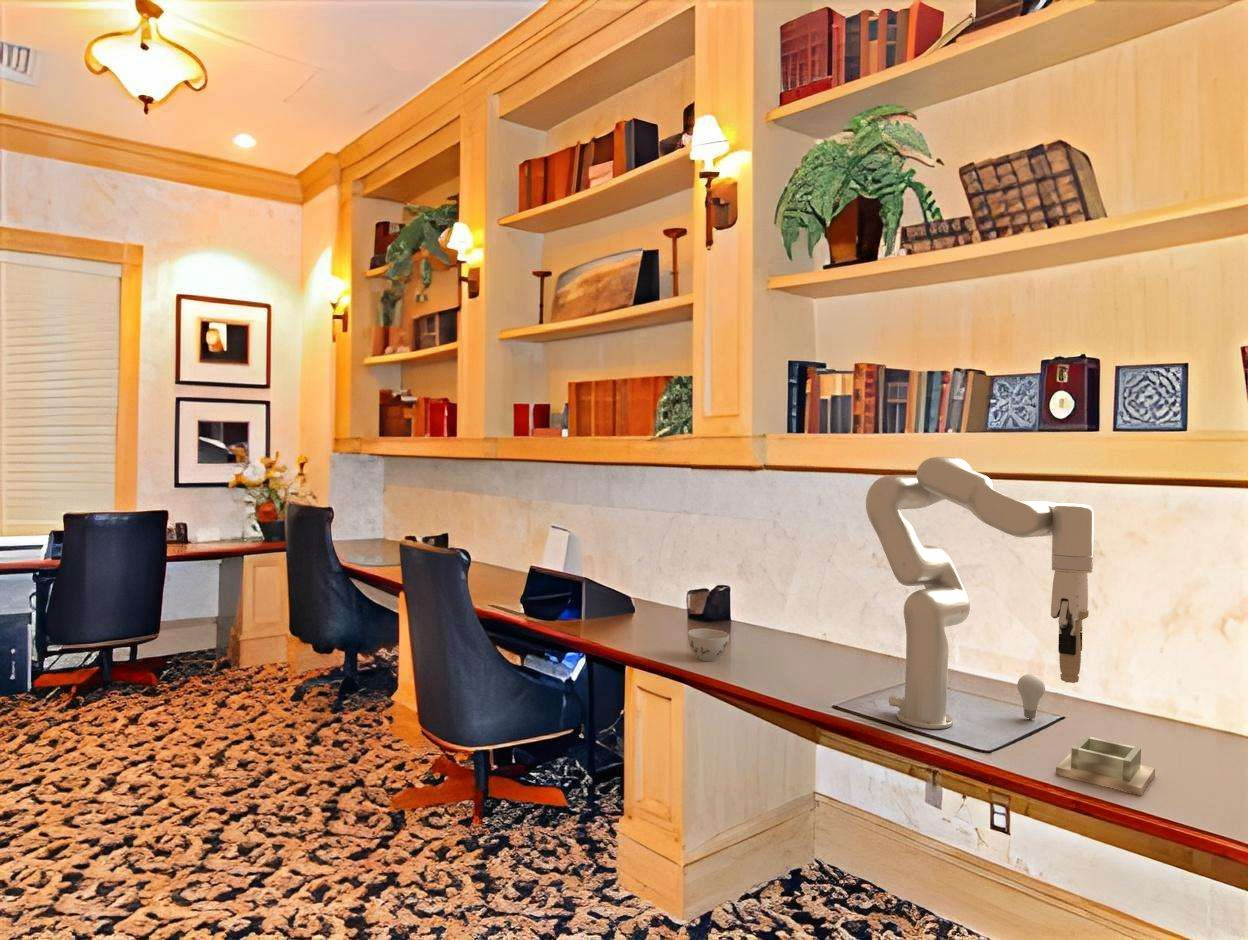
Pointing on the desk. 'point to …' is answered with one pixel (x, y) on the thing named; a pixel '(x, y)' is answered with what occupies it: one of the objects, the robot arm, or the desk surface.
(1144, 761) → the desk surface
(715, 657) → the teacup
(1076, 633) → the handle
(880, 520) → the robot arm
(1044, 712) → the desk surface
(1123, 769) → the socket block
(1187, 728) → the desk surface
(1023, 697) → the lightbulb
